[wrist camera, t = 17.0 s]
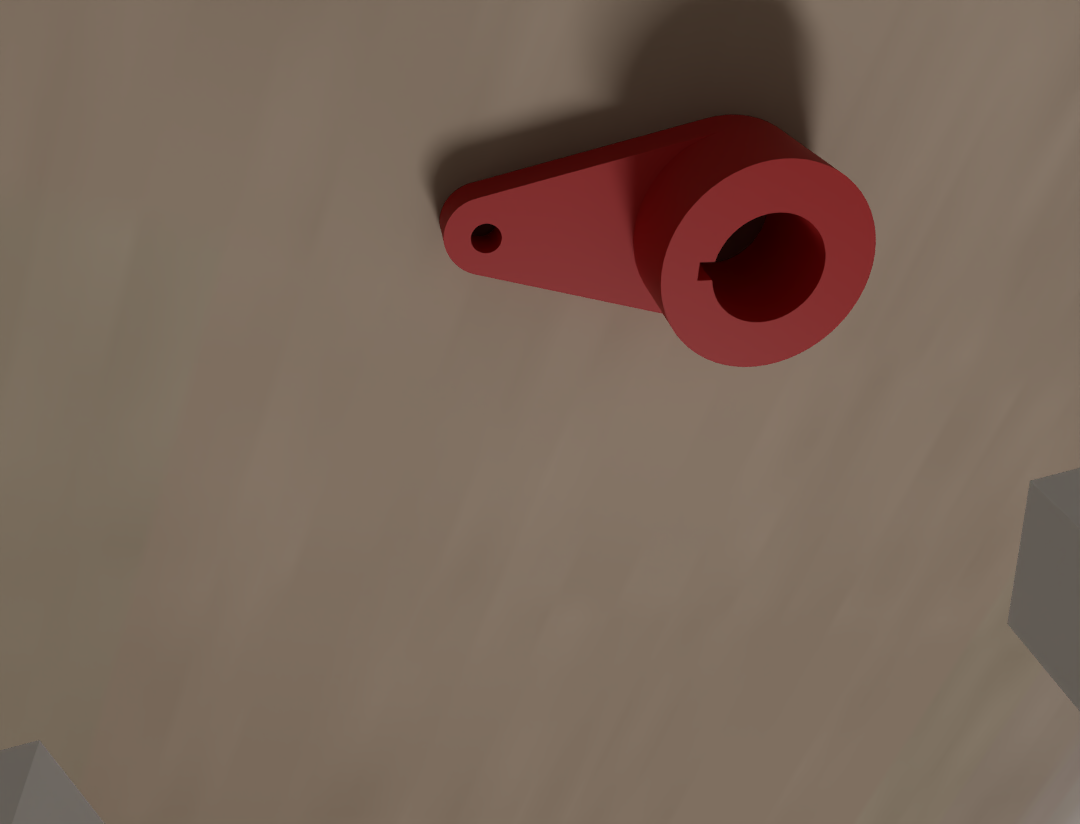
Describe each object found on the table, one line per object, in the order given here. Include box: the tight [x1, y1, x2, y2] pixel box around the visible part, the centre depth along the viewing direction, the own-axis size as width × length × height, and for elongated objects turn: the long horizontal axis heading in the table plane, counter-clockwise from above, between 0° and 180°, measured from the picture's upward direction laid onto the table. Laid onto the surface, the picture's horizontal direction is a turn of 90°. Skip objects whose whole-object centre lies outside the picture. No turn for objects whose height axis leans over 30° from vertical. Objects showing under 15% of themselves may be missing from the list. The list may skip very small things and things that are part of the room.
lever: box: [440, 115, 876, 367], centre depth 41 cm, size 18×9×7 cm, turn 88°
